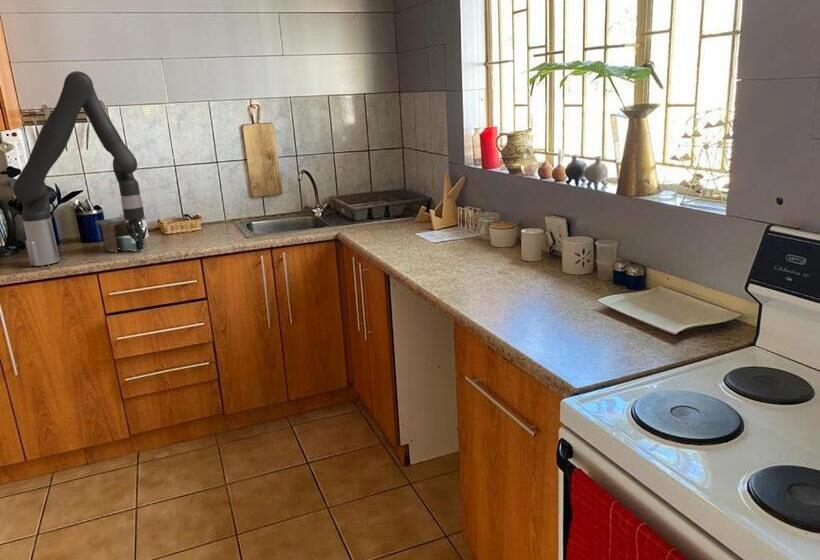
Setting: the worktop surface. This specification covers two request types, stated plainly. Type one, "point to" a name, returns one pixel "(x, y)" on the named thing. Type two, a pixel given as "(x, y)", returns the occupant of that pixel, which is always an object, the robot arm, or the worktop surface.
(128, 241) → the caddy
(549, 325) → the worktop surface
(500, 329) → the worktop surface
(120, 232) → the shelf
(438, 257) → the worktop surface
